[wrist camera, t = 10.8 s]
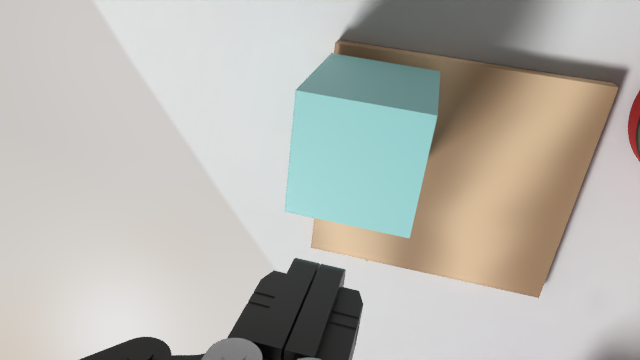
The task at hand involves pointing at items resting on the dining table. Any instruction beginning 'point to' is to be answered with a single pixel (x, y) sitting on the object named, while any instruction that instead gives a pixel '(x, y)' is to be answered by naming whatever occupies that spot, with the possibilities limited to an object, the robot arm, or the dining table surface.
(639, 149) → the beverage can
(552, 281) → the dining table surface
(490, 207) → the board
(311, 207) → the aqua foam cube
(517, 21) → the dining table surface
